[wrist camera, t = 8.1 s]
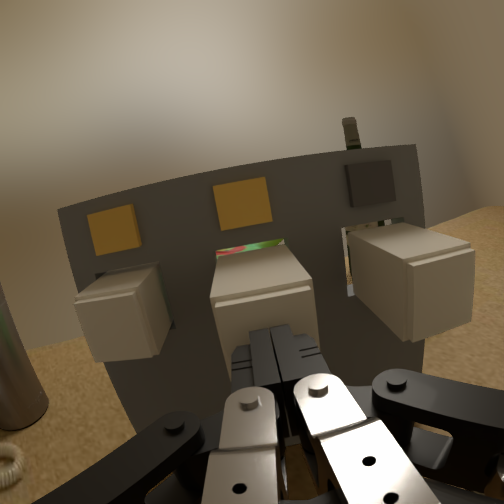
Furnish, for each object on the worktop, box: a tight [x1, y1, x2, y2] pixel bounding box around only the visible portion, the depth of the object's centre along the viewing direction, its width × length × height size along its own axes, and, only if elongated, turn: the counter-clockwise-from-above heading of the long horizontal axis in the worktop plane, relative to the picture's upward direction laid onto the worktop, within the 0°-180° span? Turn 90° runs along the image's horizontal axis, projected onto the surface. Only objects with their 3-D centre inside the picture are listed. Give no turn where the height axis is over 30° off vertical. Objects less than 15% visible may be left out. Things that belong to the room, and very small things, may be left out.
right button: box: [348, 222, 475, 343], centre depth 16 cm, size 4×8×4 cm, turn 3°
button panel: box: [58, 144, 425, 446], centre depth 21 cm, size 24×3×22 cm, turn 93°
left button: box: [74, 262, 174, 363], centre depth 19 cm, size 4×8×4 cm, turn 3°
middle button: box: [210, 244, 320, 381], centre depth 16 cm, size 4×8×4 cm, turn 3°
